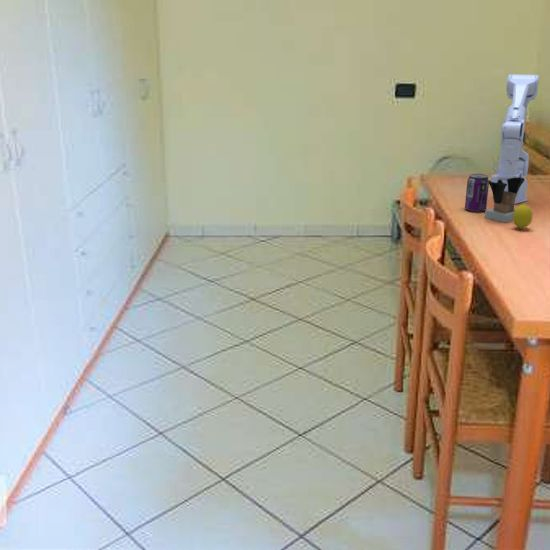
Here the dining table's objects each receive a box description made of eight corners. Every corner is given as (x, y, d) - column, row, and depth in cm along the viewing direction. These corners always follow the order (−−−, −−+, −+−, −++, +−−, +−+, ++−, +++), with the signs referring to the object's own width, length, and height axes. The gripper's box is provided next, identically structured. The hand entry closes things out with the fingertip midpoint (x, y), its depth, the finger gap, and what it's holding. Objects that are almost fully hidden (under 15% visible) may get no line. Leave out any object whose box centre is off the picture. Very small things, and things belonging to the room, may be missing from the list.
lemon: (530, 227, 212) (533, 202, 209) (530, 232, 207) (533, 207, 204) (511, 225, 214) (514, 201, 211) (511, 230, 209) (514, 205, 206)
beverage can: (486, 213, 228) (490, 178, 224) (465, 212, 229) (468, 177, 225) (485, 207, 234) (488, 173, 230) (464, 206, 236) (467, 172, 232)
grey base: (499, 213, 227) (500, 206, 226) (520, 218, 221) (521, 211, 220) (484, 217, 223) (485, 210, 222) (505, 223, 217) (506, 215, 216)
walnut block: (501, 208, 224) (503, 190, 222) (513, 211, 221) (515, 193, 218) (493, 210, 221) (495, 192, 219) (505, 213, 218) (507, 195, 216)
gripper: (506, 164, 208) (501, 207, 213) (533, 158, 216) (528, 200, 221) (487, 160, 213) (482, 202, 218) (514, 155, 222) (509, 195, 226)
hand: (504, 201), depth 220 cm, fingers open, 7 cm apart
